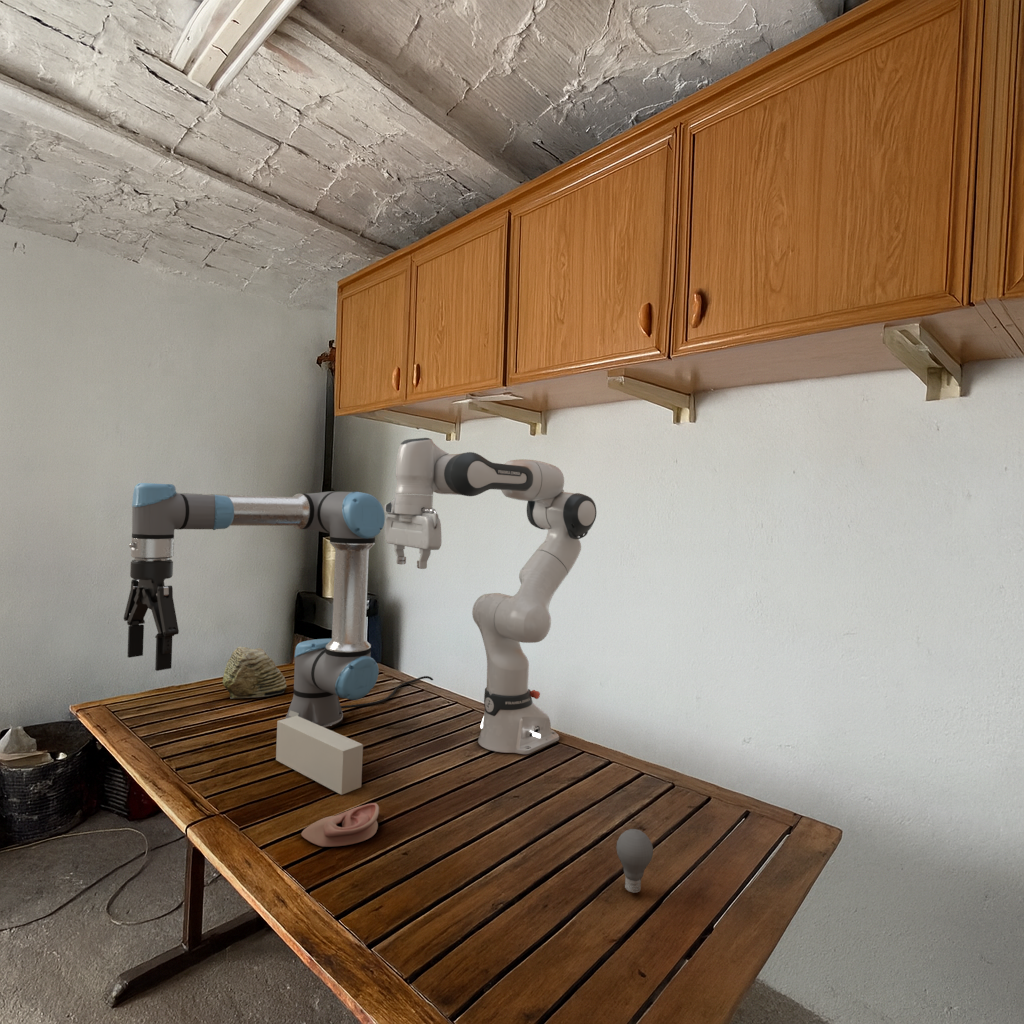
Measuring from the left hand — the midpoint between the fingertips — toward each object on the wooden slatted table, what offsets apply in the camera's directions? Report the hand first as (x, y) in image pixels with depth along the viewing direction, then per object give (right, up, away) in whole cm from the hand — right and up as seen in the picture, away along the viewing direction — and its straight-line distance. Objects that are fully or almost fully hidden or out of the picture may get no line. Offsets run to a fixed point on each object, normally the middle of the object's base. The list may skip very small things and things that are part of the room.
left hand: (148, 662), depth 129 cm
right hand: (+51, +18, +18) cm, 57 cm away
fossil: (-6, -27, +69) cm, 74 cm away
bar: (+29, -29, +16) cm, 44 cm away
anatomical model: (+42, -30, -9) cm, 52 cm away
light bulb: (+94, -33, -24) cm, 103 cm away
